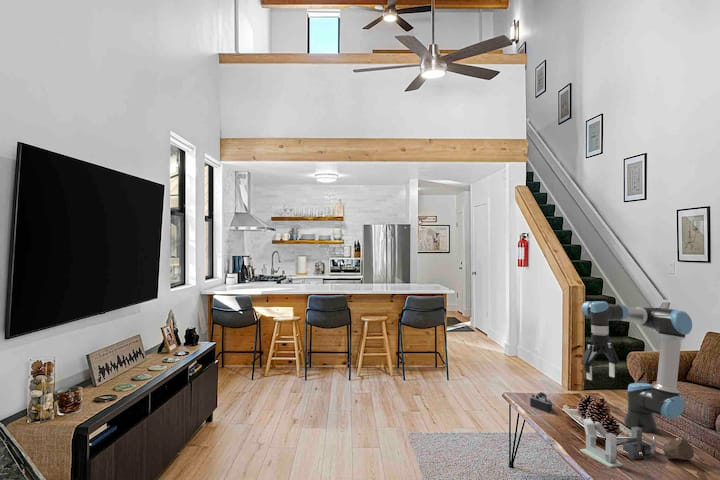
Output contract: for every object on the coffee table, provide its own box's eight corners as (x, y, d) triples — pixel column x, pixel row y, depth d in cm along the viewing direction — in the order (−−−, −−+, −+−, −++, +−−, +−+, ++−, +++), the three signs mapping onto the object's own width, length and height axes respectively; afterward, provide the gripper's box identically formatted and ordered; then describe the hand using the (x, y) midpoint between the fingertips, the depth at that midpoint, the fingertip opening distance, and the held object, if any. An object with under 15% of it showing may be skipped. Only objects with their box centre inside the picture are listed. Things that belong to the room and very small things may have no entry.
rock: (679, 467, 207) (679, 443, 207) (655, 457, 216) (655, 435, 217) (695, 461, 213) (695, 438, 213) (671, 452, 222) (671, 431, 222)
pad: (592, 449, 225) (592, 447, 225) (622, 465, 208) (622, 464, 208) (579, 450, 223) (579, 449, 223) (609, 467, 206) (609, 465, 206)
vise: (648, 448, 227) (647, 422, 227) (662, 455, 219) (662, 429, 219) (606, 453, 220) (606, 427, 220) (620, 461, 212) (620, 434, 213)
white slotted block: (591, 449, 223) (591, 423, 223) (616, 463, 209) (616, 435, 209) (585, 450, 222) (585, 424, 223) (610, 463, 208) (610, 436, 208)
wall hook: (613, 442, 232) (608, 421, 233) (590, 444, 234) (586, 424, 235) (608, 435, 240) (603, 416, 241) (586, 438, 242) (582, 418, 243)
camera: (559, 412, 277) (559, 395, 277) (549, 414, 273) (549, 397, 273) (538, 404, 291) (538, 388, 291) (528, 406, 287) (528, 389, 287)
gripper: (614, 330, 236) (615, 373, 235) (572, 334, 228) (573, 378, 228) (626, 333, 229) (627, 377, 228) (584, 337, 221) (585, 382, 221)
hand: (600, 378), depth 228 cm, fingers open, 13 cm apart
